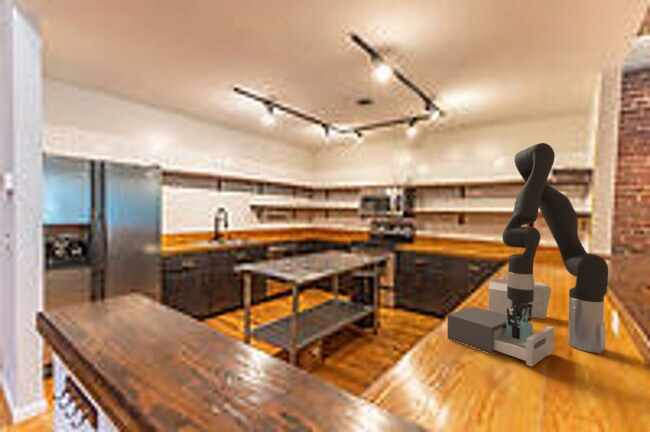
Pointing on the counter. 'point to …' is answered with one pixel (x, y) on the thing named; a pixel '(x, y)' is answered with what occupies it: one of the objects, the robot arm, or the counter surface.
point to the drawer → (526, 345)
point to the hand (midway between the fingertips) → (519, 336)
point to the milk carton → (498, 296)
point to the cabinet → (475, 327)
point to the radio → (538, 299)
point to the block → (521, 330)
